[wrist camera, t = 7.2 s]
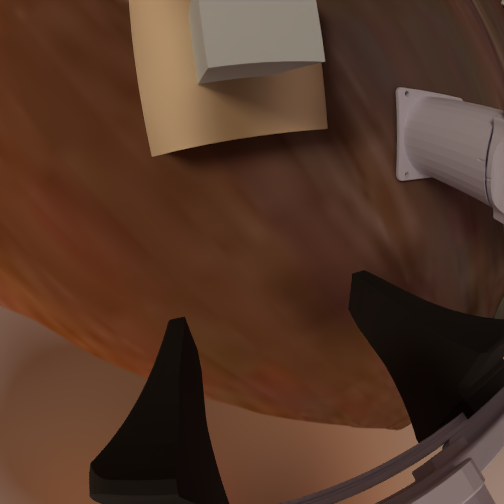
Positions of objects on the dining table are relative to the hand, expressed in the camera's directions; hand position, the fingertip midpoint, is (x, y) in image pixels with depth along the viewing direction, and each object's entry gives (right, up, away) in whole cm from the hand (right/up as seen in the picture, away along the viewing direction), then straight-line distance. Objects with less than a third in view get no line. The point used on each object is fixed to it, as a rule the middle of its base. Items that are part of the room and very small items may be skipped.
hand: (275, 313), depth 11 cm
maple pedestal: (-3, +14, +3) cm, 15 cm away
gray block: (-2, +13, 0) cm, 13 cm away
